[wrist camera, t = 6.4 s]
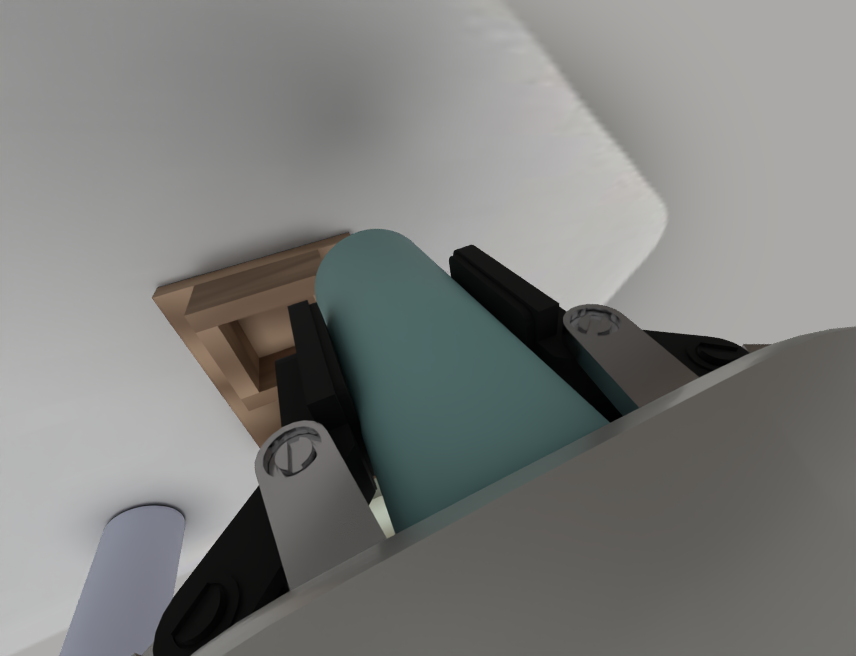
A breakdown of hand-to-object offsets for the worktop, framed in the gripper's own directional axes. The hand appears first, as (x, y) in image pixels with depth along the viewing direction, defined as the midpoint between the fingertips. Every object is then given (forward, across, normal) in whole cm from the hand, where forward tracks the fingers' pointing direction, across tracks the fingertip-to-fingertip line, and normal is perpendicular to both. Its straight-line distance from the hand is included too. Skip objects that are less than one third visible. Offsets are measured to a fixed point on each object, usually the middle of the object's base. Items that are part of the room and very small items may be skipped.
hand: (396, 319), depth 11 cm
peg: (+2, 0, 0) cm, 2 cm away
